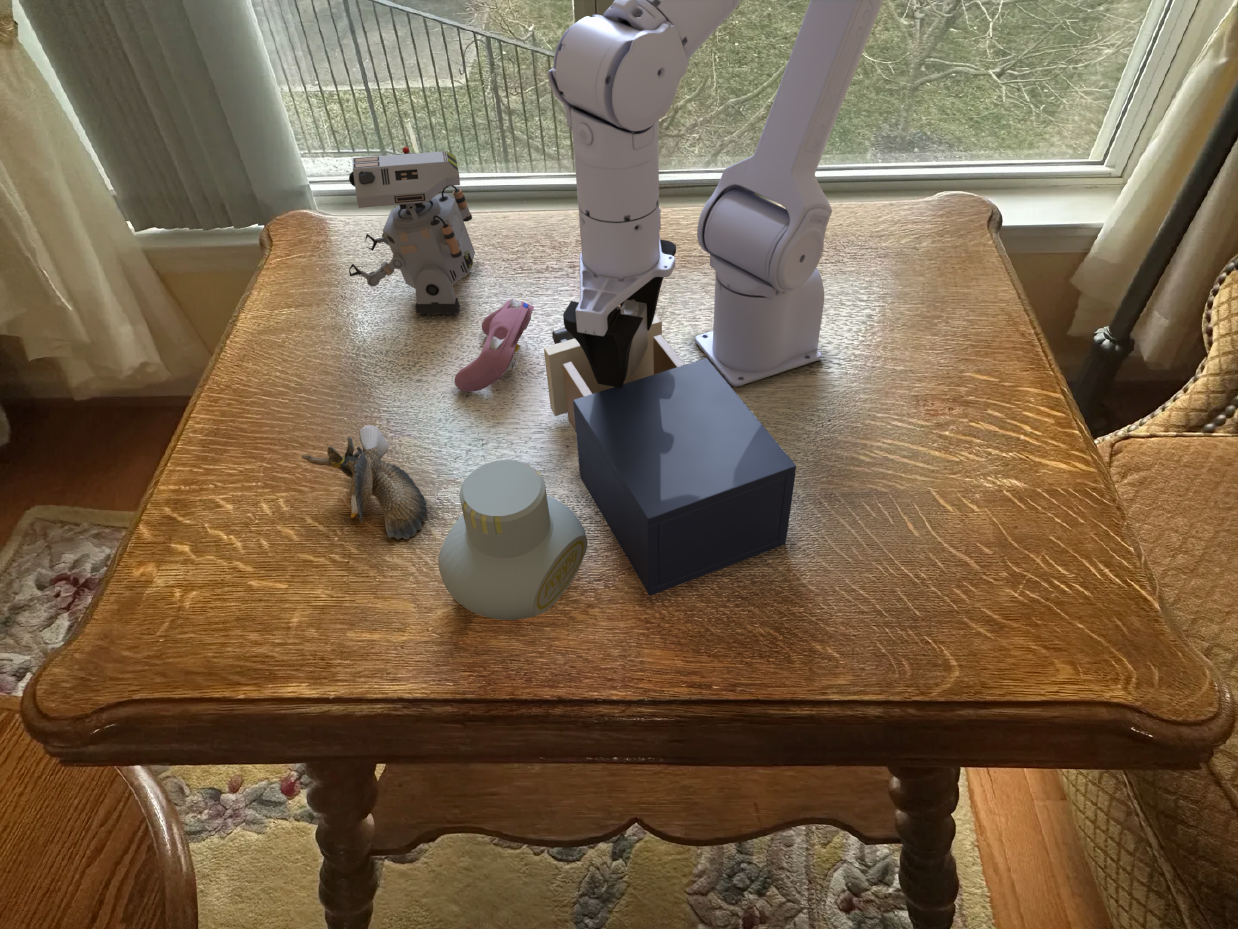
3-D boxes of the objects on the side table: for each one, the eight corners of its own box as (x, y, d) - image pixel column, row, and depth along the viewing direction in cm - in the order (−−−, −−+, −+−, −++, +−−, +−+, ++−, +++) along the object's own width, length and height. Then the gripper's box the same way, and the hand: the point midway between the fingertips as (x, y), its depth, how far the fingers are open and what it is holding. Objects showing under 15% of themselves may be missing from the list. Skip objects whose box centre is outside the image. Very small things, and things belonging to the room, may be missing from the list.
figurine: (381, 268, 102) (348, 135, 91) (486, 267, 101) (465, 134, 90) (361, 318, 95) (322, 182, 85) (473, 318, 95) (448, 180, 84)
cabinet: (579, 477, 78) (572, 399, 72) (704, 435, 81) (707, 357, 75) (649, 597, 69) (647, 519, 63) (786, 544, 72) (796, 465, 66)
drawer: (533, 380, 86) (525, 319, 81) (637, 348, 89) (635, 288, 84) (606, 502, 75) (602, 440, 70) (721, 461, 78) (725, 399, 73)
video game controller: (494, 411, 87) (519, 361, 82) (448, 389, 86) (471, 338, 81) (523, 346, 93) (548, 296, 89) (481, 325, 93) (504, 274, 88)
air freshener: (514, 511, 76) (499, 419, 69) (602, 549, 73) (595, 457, 65) (429, 608, 69) (402, 518, 62) (522, 655, 66) (505, 565, 59)
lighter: (628, 342, 79) (625, 260, 74) (648, 345, 79) (646, 263, 73) (600, 395, 75) (595, 312, 69) (621, 399, 74) (617, 316, 69)
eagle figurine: (292, 502, 76) (347, 548, 70) (307, 418, 74) (365, 458, 68) (375, 500, 81) (432, 542, 75) (391, 421, 79) (451, 458, 74)
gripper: (643, 265, 60) (646, 421, 70) (699, 159, 70) (695, 309, 80) (540, 250, 62) (558, 405, 72) (609, 149, 72) (616, 297, 81)
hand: (624, 354), depth 76 cm, fingers closed on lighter, 7 cm apart
